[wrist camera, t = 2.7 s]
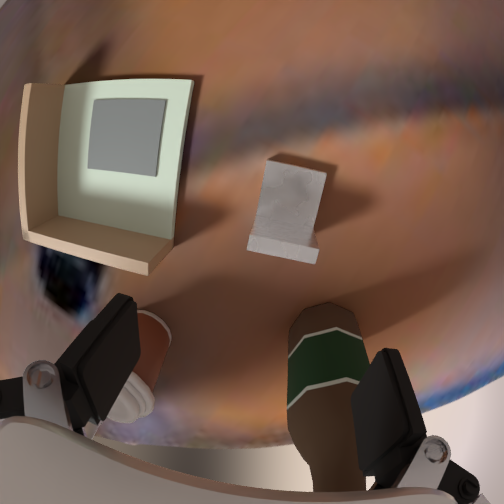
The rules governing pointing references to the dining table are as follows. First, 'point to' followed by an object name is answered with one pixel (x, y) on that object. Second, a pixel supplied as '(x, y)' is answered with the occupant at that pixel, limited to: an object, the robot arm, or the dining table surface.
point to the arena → (103, 168)
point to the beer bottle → (326, 395)
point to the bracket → (288, 212)
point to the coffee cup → (143, 370)
